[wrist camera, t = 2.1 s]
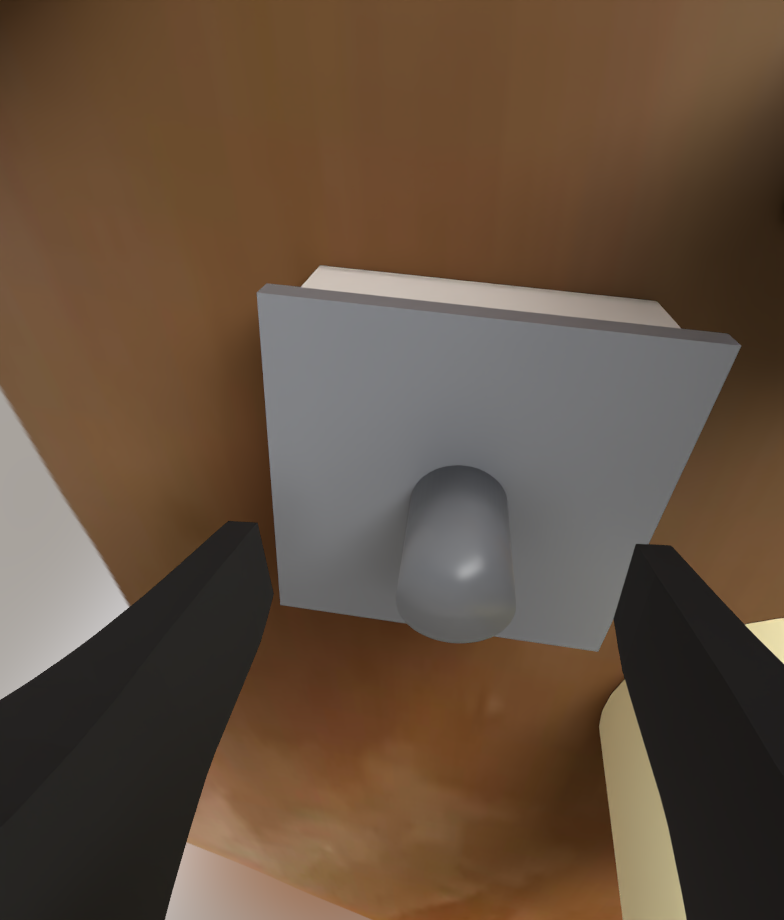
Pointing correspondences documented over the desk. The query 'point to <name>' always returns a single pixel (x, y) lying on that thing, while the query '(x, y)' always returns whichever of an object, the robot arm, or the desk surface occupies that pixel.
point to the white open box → (490, 295)
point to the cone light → (647, 805)
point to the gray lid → (473, 458)
